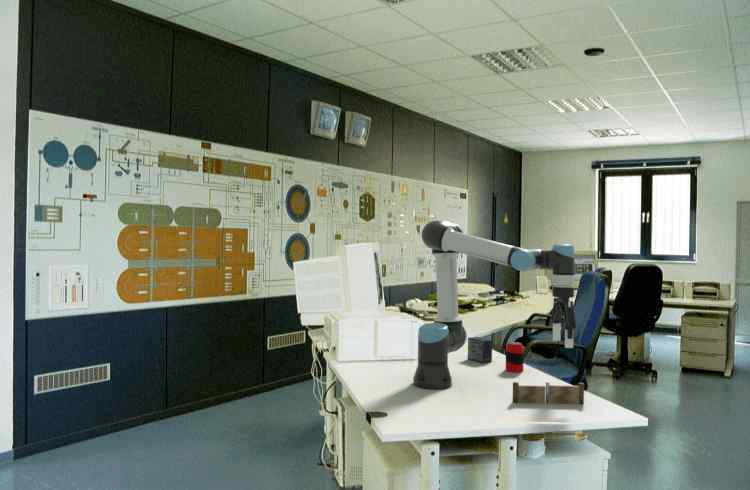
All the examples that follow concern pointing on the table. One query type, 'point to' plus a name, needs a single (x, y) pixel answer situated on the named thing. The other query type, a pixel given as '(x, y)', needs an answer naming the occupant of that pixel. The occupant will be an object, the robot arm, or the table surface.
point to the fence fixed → (528, 393)
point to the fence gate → (565, 394)
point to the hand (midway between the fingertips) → (562, 344)
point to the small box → (479, 349)
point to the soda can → (514, 357)
